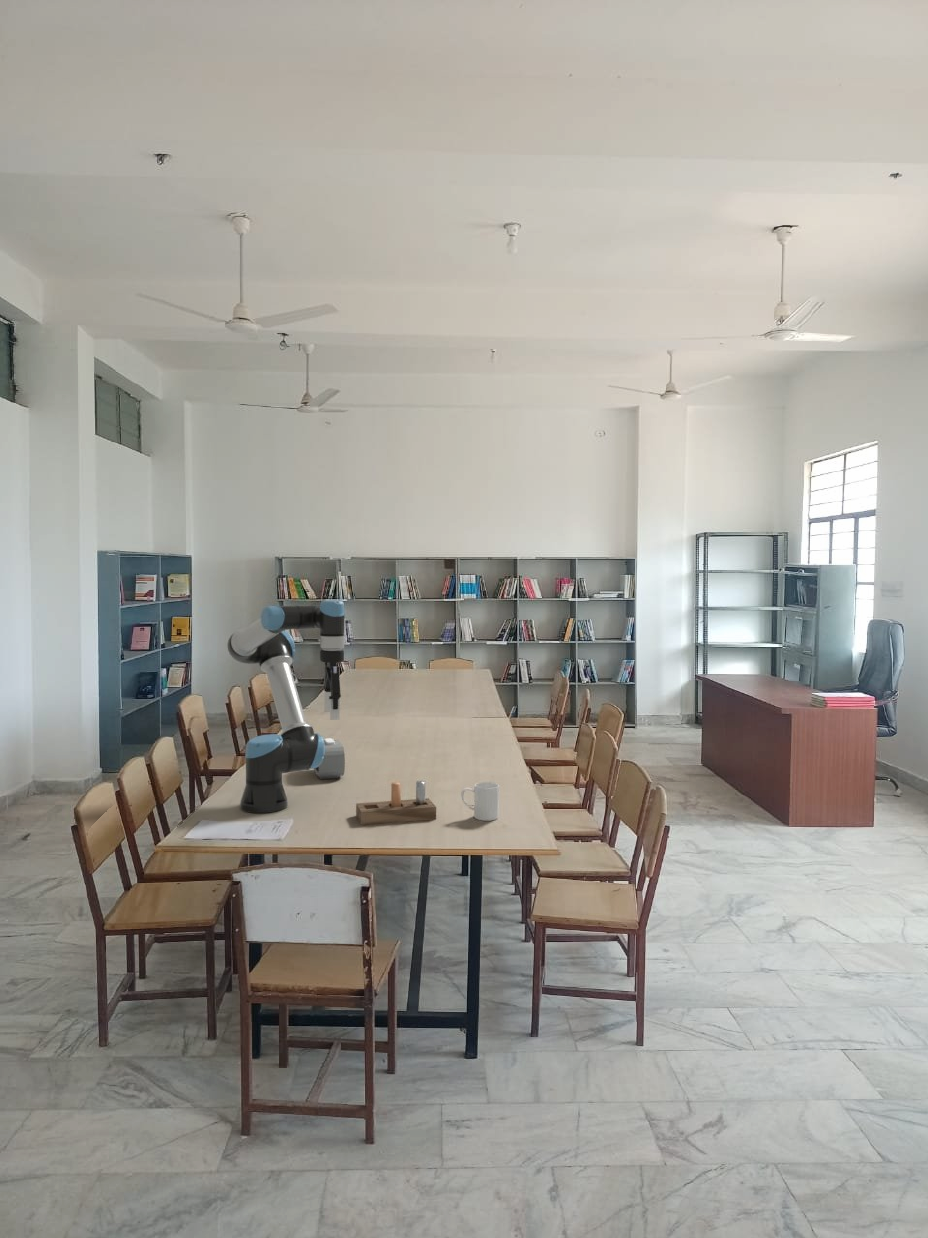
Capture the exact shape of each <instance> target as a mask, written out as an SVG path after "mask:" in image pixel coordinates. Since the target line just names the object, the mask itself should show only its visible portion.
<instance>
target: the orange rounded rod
mask: <svg viewBox="0 0 928 1238" xmlns="http://www.w3.org/2000/svg"><path fill="white" fill-rule="evenodd" d="M390 785H391V788H390V789H391V792H390V793H391V795H390V796H391V797H390V799H391V800H390V801H391V807H401V800H402V799H401V798H402V796H401V794H402V783H401V782H396V781H395V782H391V784H390Z"/></svg>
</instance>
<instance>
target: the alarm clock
mask: <svg viewBox="0 0 928 1238" xmlns="http://www.w3.org/2000/svg"><path fill="white" fill-rule="evenodd" d="M323 739H324V744H325V754H324V758H323V761H322V763H321V765H320V766H319V767H317V768H313V771H314V772H315V774H316V776H318V778H319V779H320V780H324V779H325V780H327V779H339V778H341V777H343V776H345V775H344V774H345V767H346V766H345V765H346V762H345V761H346V757H345V755H346V754H345V748H344V745H343V744H342V743H341V741H340V740H339V739H334V738H331V737H330V738H327V737H326V738H323Z"/></svg>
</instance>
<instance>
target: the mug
mask: <svg viewBox="0 0 928 1238" xmlns="http://www.w3.org/2000/svg"><path fill="white" fill-rule="evenodd" d="M473 787H474V788H470V787H465V788H463V789H462V791H461V795H460V796H461V800H462V802H463V804H464V805H465V806H466V807H467V808H468V809H470V810H472V811H473V816H474V818H475V820H479V821H484V822H488V821H489V822H490V821H495V820H498V818H499V817H500V815H499V814H500V813H499V810H500V809H499V808H500V807H499V806H500V805H499V804H500V802H499V801H500V785H499V784H498V783H496V782H487V781H485V782H483V781H482V782H476V783H475V784H474V786H473ZM466 791H471V792H473V793H474V797H473V807H472V806H470V804H468V803H467V802H466V800H465V797H464V794H465V792H466Z"/></svg>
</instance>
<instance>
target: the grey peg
mask: <svg viewBox="0 0 928 1238" xmlns="http://www.w3.org/2000/svg"><path fill="white" fill-rule="evenodd" d="M415 799H416V806H417V805H425V799H426V781H425V780H416V782H415Z"/></svg>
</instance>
